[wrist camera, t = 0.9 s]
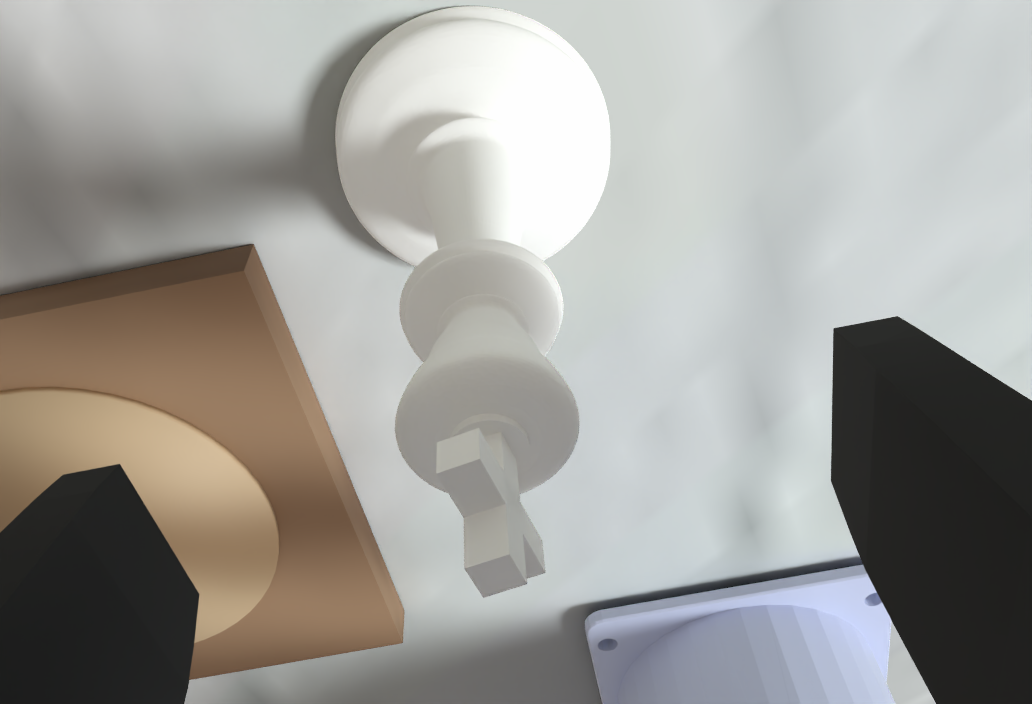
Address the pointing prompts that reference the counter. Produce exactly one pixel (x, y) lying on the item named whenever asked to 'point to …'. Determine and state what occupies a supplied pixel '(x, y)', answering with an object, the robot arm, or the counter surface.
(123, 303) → the pedestal
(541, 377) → the chess piece
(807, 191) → the counter surface
